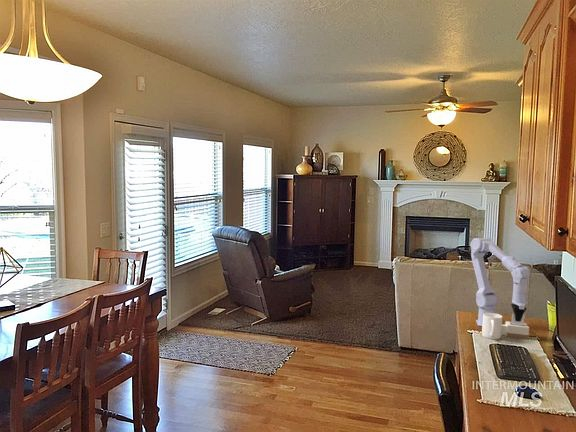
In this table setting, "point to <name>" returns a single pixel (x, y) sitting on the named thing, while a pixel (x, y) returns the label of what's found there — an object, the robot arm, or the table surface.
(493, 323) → the mug
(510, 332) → the slotted upright plate
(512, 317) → the white upright block
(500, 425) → the table surface
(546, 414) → the table surface
